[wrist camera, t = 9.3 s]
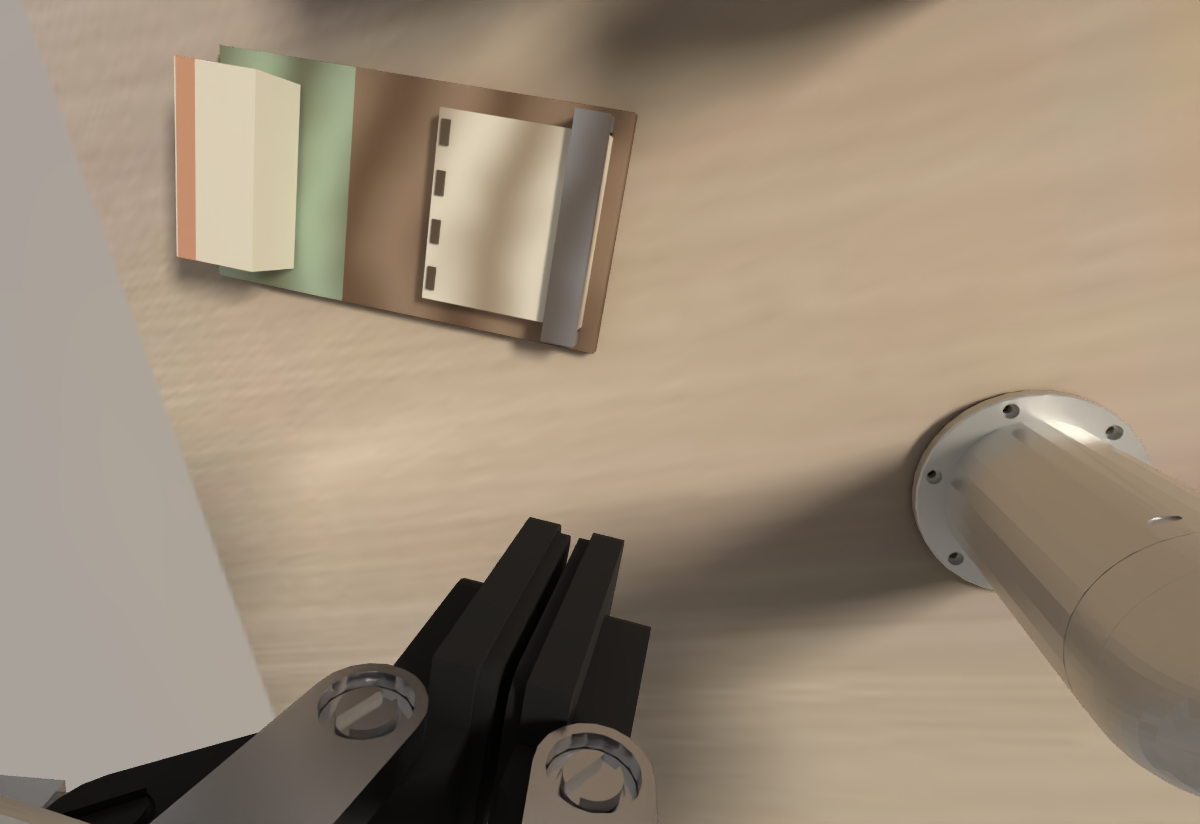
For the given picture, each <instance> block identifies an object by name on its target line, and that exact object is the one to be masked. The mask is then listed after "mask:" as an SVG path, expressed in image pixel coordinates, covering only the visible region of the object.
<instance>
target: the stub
mask: <svg viewBox="0 0 1200 824" xmlns="http://www.w3.org/2000/svg"><path fill="white" fill-rule="evenodd" d="M300 87H301V85H299V84H297V83H294V82H291V81H288V80H285V79H282V78H280V77H277V76H274V75H271V74H268V73H265V72H263V71H260V70H257V69H252V68H246V67H240V66H234V65H228V64H222V63H216V62H210V61H204V60H198V59H195V58H189V57H183V56H177V55H175V56H174V94H175V166H176V237H177V256H178V257H181V258H186V259H191V260H195V261H202V262H207V263H212V264H216V265H221V266H226V267H231V268H236V269H240V270H245V271H250V272H257V271H269V270H281V269H293V268H294V248H295V221H296V194H297V168H298V141H299V114H300Z"/></svg>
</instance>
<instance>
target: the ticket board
mask: <svg viewBox="0 0 1200 824" xmlns="http://www.w3.org/2000/svg"><path fill="white" fill-rule="evenodd" d="M220 63H222V64H228V65H234V66H240V67H246V68H252V69H257V70H260V71H263V72H265V73H268V74H271V75H274V76H277V77H280V78H282V79H285V80H288V81H291V82H294V83H297V84H299V85H301V87H300V114H299V141H298V168H297V194H296V221H295V248H294V268H293V269H281V270H269V271H257V272H250V271H245V270H240V269H236V268H231V267H226V266H221V265H219V275H222V276H227V277H232V278H236V279H241V280H246V281H251V282H255V283H260V284H265V285H270V286H274V287H279V288H284V289H288V290H293V291H298V292H303V293H307V294H312V295H317V296H322V297H326V298H331V299H336V300H341V301H345V302H350V303H355V304H360V305H364V306H369V307H374V308H379V309H383V310H388V311H393V312H398V313H402V314H407V315H412V316H416V317H421V318H426V319H431V320H435V321H440V322H445V323H450V324H454V325H459V326H464V327H469V328H473V329H478V330H483V331H488V332H492V333H497V334H502V335H507V336H511V337H516V338H521V339H526V340H530V341H535V342H540V343H544V344H549V345H554V346H559V347H563V348H568V349H573V350H578V351H582V352H587V353H592V354H593V353H594V352H595V351H596V348H597V342H598V337H599V331H600V325H601V320H602V314H603V308H604V303H605V297H606V291H607V286H608V280H609V274H610V269H611V263H612V257H613V252H614V246H615V240H616V235H617V229H618V223H619V218H620V212H621V206H622V200H623V195H624V189H625V183H626V178H627V172H628V166H629V161H630V155H631V149H632V144H633V138H634V132H635V127H636V121H637V114H636V113H634V112H628V111H622V110H616V109H610V108H603V107H597V106H591V105H585V104H579V103H573V102H567V101H560V100H554V99H548V98H542V97H536V96H530V95H524V94H517V93H511V92H505V91H499V90H493V89H487V88H481V87H475V86H468V85H462V84H456V83H450V82H444V81H438V80H432V79H425V78H419V77H413V76H407V75H401V74H395V73H389V72H382V71H376V70H370V69H364V68H358V67H352V66H346V65H339V64H333V63H327V62H321V61H315V60H309V59H303V58H297V57H290V56H284V55H278V54H272V53H266V52H260V51H254V50H247V49H241V48H235V47H229V46H223V45H220Z"/></svg>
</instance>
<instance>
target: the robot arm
mask: <svg viewBox="0 0 1200 824" xmlns="http://www.w3.org/2000/svg"><path fill="white" fill-rule="evenodd" d="M1007 405H1009V409H1008V410H1007V411H1004V412H1003V409H1004V408H1005V406H1007ZM1109 427H1110V429H1109V430H1108V431H1107V432H1106V430H1107V429H1108V428H1109ZM932 470H934V473H933V474H932V475H927V474H928V473H929V472H930V471H932ZM912 510H913V513H914V517H915V521H916V524H917V528H918V529H919V531H920V533H921V535H922V537H923V539H924V541H925V543H926V544H927V546H928V547H929V548H930V550H931V551H932V552H933V554H934V555H935V557H936V558H937V559H938V560H939V561H940V562H941V563H942V564H943V565H944V566H945V567H946V568H947V569H949V570H950V571H952V572H953V573H955V574H956V575H958V576H959V577H961V578H962V579H964V580H966V581H968V582H970V583H973V584H975V585H977V586H980V587H982V588H985V589H990V590H994V591H995V592H996V593H997V595H998V596H999V597H1000V599H1001V600H1002V601H1003V603H1004V604H1005V605H1006V606H1007V608H1008V609H1009V610H1010V612H1011V613H1012V614H1013V616H1014V617H1015V618H1016V620H1017V621H1018V622H1019V624H1020V625H1021V626H1022V628H1023V629H1024V630H1025V631H1026V633H1027V634H1028V635H1029V637H1030V638H1031V639H1032V641H1033V642H1034V643H1035V645H1036V646H1037V647H1038V649H1039V650H1040V651H1041V652H1042V654H1043V655H1044V656H1045V658H1046V659H1047V660H1048V662H1049V663H1050V664H1051V666H1052V667H1053V668H1054V670H1055V671H1056V672H1057V674H1058V675H1059V676H1060V677H1061V679H1062V680H1063V681H1064V683H1065V684H1066V685H1067V687H1068V688H1069V689H1070V691H1071V692H1072V693H1073V695H1074V696H1075V697H1076V698H1077V700H1078V701H1079V702H1080V704H1081V705H1082V706H1083V707H1084V708H1085V710H1086V711H1087V712H1088V713H1089V715H1090V716H1091V717H1092V719H1093V720H1094V721H1095V723H1096V724H1097V725H1098V726H1099V727H1100V729H1101V730H1102V731H1103V732H1104V733H1105V734H1106V735H1107V737H1108V738H1109V739H1110V740H1111V741H1112V742H1113V743H1114V744H1115V745H1116V746H1117V747H1118V748H1119V749H1120V750H1122V751H1123V752H1124V753H1125V754H1126V755H1127V756H1129V757H1130V758H1131V759H1132V760H1133V761H1135V762H1136V763H1137V764H1139V765H1140V766H1142V767H1143V768H1145V769H1146V770H1148V771H1150V772H1151V773H1153V774H1154V775H1156V776H1158V777H1159V778H1161V779H1162V780H1164V781H1166V782H1168V783H1170V784H1171V785H1173V786H1175V787H1177V788H1179V789H1182V790H1184V791H1186V792H1189V793H1191V794H1194V795H1196V796H1198V797H1200V493H1199V492H1198V491H1196V490H1194V489H1192V488H1190V487H1188V486H1187V485H1185V484H1183V483H1181V482H1179V481H1177V480H1175V479H1174V478H1172V477H1170V476H1168V475H1166V474H1164V473H1163V472H1161V471H1159V470H1157V469H1155V468H1153V467H1152V463H1151V459H1150V457H1149V455H1148V453H1147V451H1146V448H1145V446H1144V444H1143V442H1142V441H1141V439H1140V438H1139V437H1138V436H1137V434H1136V433H1135V432H1134V430H1133V429H1132V428H1131V427H1130V426H1129V425H1128V424H1127V423H1126V422H1125V421H1123V420H1122V419H1121V418H1120V417H1118V416H1117V415H1116V414H1115V413H1114V412H1112V411H1110V410H1108V409H1106V408H1104V407H1102V406H1100V405H1098V404H1097V403H1094V402H1092V401H1089V400H1087V399H1084V398H1082V397H1079V396H1077V395H1073V394H1068V393H1063V392H1058V391H1048V390H1027V391H1020V392H1013V393H1007V394H1004V395H1000V396H997V397H994V398H991V399H988V400H985V401H983V402H981V403H979V404H977V405H975V406H973V407H971V408H969V409H967V410H965V411H964V412H962V413H961V414H960V415H958V416H957V417H955V418H954V419H953V420H951V421H950V422H949V423H947V424H946V425H945V427H944V428H943V429H942V430H941V431H940V432H939V433H938V434H937V435H936V436H935V437H934V438H933V439H932V441H931V442H930V444H929V445H928V447H927V449H926V450H925V452H924V453H923V455H922V457H921V459H920V462H919V464H918V467H917V469H916V472H915V475H914V481H913V487H912ZM570 540H571V536H570V535H566V534H562V533H561V525H560V524H556V523H552V522H548V521H544V520H540V519H536V518H532V517H530V518H529V519H528V520H527V521H526V523H525V524H524V526H523V527H522V528H521V530H520V531H519V533H518V534H517V536H516V537H515V539H514V540H513V541H512V543H511V544H510V546H509V547H508V549H507V550H506V552H505V553H504V554H503V556H502V557H501V559H500V560H499V562H498V563H497V564H496V566H495V567H494V569H493V570H492V572H491V573H490V575H489V576H488V577H487V579H486V580H485V582H484V583H482V582H478V581H474V580H470V579H467V578H463V579H461V580H460V581H459V582H458V583H457V584H456V585H455V586H454V588H453V589H452V590H451V592H450V593H449V594H448V595H447V597H446V598H445V599H444V601H443V602H442V603H441V605H440V606H439V607H438V608H437V610H436V611H435V612H434V614H433V615H432V616H431V618H430V619H429V620H428V621H427V623H426V624H425V625H424V627H423V628H422V629H421V631H420V632H419V633H418V634H417V636H416V637H415V638H414V640H413V641H412V642H411V643H410V645H409V646H408V647H407V649H406V650H405V651H404V653H403V654H402V655H401V656H400V658H399V659H398V660H397V662H396V663H395V664H394V666H392V665H388V664H373V663H368V664H361V665H355V666H350V667H347V668H344V669H342V670H339V671H336V672H334V673H332V674H331V675H329V676H327V677H326V678H324V679H323V680H321V681H320V682H318V683H317V684H316V685H315V686H314V687H312V688H311V689H310V690H309V691H308V692H306V693H305V694H304V695H303V696H302V697H300V698H299V699H298V700H297V701H296V702H294V703H293V704H292V705H291V706H290V707H288V708H287V709H286V710H285V711H284V712H282V713H281V714H280V715H279V716H278V717H276V718H275V719H274V720H273V721H272V722H271V723H269V724H268V725H267V726H266V727H265V728H263V729H262V730H261V731H260V732H259V733H255V734H252V735H248V736H244V737H241V738H237V739H234V740H231V741H227V742H223V743H219V744H216V745H212V746H209V747H206V748H202V749H198V750H195V751H191V752H187V753H184V754H180V755H177V756H173V757H170V758H166V759H162V760H159V761H155V762H152V763H148V764H145V765H141V766H138V767H134V768H130V769H127V770H123V771H120V772H116V773H113V774H109V775H106V776H103V777H101V778H98V779H95V780H93V781H91V782H88V783H85V784H83V785H81V786H79V787H77V788H75V789H74V790H72V791H70V792H66V787H65V780H54V779H41V778H29V777H17V776H5V775H0V824H487V822H488V824H658V820H657V801H656V783H655V777H654V773H653V768H652V765H651V763H650V761H649V760H648V758H647V756H646V755H645V753H644V751H643V750H642V749H641V748H640V747H639V746H638V745H637V744H636V743H635V742H634V741H632V740H631V739H630V736H631V731H632V726H633V721H634V715H635V710H636V705H637V699H638V694H639V689H640V684H641V678H642V673H643V668H644V662H645V657H646V652H647V647H648V641H649V636H650V630H651V627H649V626H645V625H641V624H637V623H633V622H630V621H626V620H622V619H618V618H614V617H611V616H609V615H610V610H611V605H612V600H613V596H614V591H615V586H616V581H617V576H618V572H619V567H620V562H621V557H622V552H623V547H624V540H621V539H617V538H613V537H609V536H604V535H600V534H596V533H593V535H592V537H591V539H590V540H586V539H582V538H579V540H578V542H577V544H576V546H575V548H574V550H573V552H572V554H571V556H570V558H569V560H568V563H567V558H568V552H569V547H570ZM954 552H955V553H954ZM952 553H954V554H953V555H950V554H952ZM566 563H567V565H566Z"/></svg>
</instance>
